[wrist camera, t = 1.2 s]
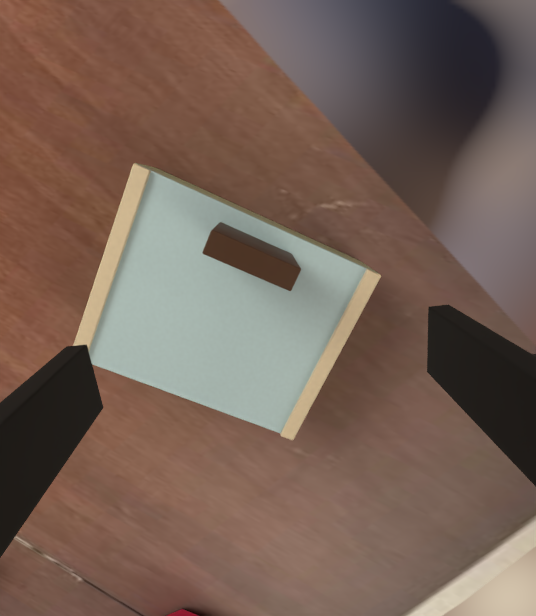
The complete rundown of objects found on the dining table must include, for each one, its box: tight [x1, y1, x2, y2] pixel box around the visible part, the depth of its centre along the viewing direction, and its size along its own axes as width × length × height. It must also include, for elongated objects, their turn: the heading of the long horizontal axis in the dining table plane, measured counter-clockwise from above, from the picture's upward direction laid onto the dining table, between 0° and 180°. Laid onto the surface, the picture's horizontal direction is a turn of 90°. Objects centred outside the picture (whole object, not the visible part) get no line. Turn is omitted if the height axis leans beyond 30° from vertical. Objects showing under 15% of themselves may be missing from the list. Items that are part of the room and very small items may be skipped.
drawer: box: [73, 164, 381, 440], centre depth 28 cm, size 16×20×7 cm
